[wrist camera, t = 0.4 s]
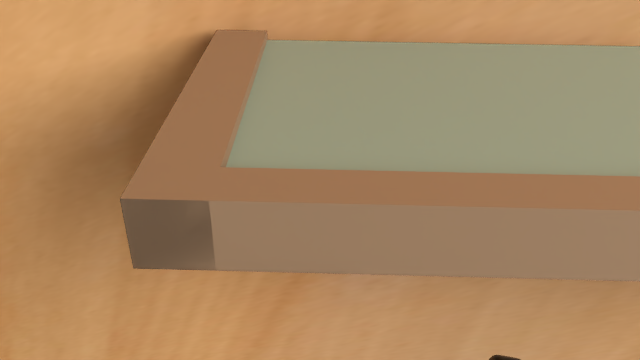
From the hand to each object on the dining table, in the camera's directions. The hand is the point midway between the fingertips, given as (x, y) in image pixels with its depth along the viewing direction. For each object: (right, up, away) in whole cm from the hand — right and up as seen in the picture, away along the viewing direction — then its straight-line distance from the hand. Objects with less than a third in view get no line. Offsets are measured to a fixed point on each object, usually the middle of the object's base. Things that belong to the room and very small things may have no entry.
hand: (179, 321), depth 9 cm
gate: (+9, +6, +11) cm, 15 cm away
